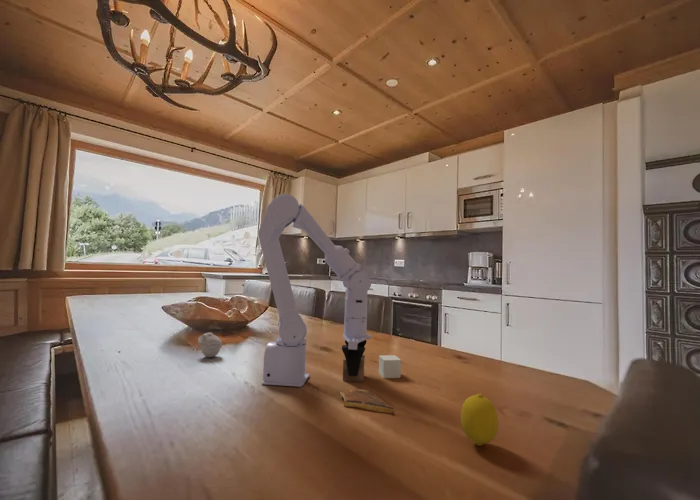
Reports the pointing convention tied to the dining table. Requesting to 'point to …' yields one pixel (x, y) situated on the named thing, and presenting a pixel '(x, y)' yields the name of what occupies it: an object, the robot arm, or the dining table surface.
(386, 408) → the shard
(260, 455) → the dining table surface
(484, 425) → the lemon
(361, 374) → the walnut block
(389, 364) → the white cube
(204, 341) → the round grey stone
